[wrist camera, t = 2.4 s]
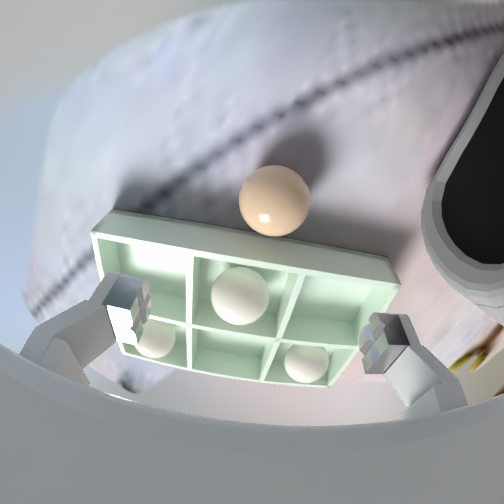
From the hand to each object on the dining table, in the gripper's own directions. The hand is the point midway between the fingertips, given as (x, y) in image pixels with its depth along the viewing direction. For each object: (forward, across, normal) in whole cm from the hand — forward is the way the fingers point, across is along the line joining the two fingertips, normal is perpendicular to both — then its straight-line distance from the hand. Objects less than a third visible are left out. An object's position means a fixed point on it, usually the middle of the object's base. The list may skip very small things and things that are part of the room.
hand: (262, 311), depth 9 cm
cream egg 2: (+11, 0, +8) cm, 13 cm away
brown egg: (+11, -1, 0) cm, 11 cm away
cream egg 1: (+11, +8, +15) cm, 20 cm away
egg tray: (+11, 0, +11) cm, 16 cm away
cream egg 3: (+11, -7, +15) cm, 20 cm away
